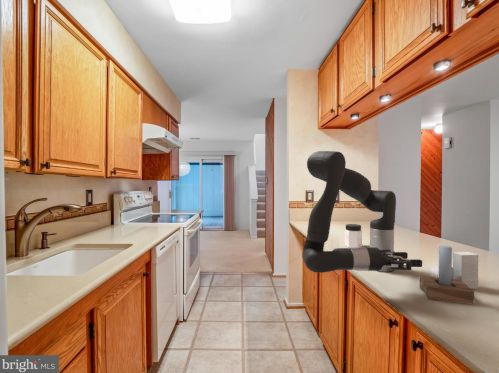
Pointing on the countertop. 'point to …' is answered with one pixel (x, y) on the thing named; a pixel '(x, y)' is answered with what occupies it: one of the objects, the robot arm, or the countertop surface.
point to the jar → (353, 236)
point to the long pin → (445, 265)
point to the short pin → (452, 273)
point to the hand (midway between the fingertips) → (414, 259)
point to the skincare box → (466, 268)
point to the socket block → (446, 290)
